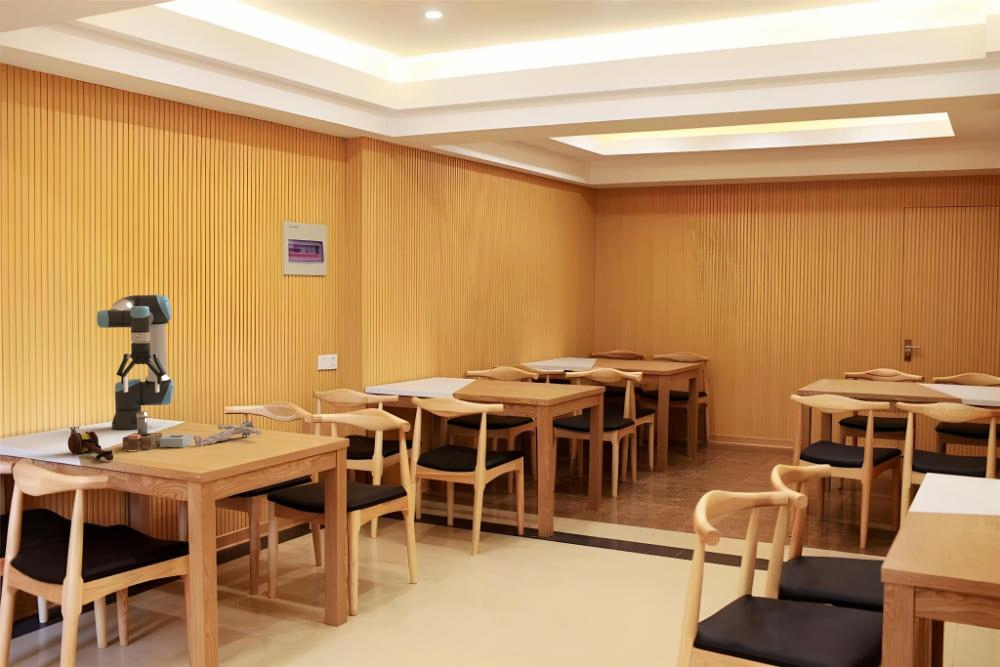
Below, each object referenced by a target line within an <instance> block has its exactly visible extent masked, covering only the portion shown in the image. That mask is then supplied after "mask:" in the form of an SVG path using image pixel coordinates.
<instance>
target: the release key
mask: <svg viewBox="0 0 1000 667" xmlns="http://www.w3.org/2000/svg"><path fill="white" fill-rule="evenodd" d="M131 434H132V435H131ZM131 434H129V435H130V436H129V439H133V442H137V439H140V438H141V434H133V433H131Z"/></svg>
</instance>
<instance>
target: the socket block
mask: <svg viewBox="0 0 1000 667" xmlns="http://www.w3.org/2000/svg"><path fill="white" fill-rule="evenodd" d="M132 434H137V432H134V433H131V434H129V435H125V436H123V437H122V450H123V449H128V450H140V449H152V448H154V447H156V446H158V447H160V446H159V445H160V441H159V439H160V438H162V437H163V433H162V432H148V436H147V437H141V438H140V439H137V442H133V439H129V436H130V435H132ZM156 448H157V447H156ZM154 449H155V448H154ZM152 450H153V449H152ZM140 451H141V450H140Z"/></svg>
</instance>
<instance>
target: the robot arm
mask: <svg viewBox="0 0 1000 667" xmlns="http://www.w3.org/2000/svg"><path fill="white" fill-rule="evenodd" d="M172 317H173V316H172V307H171V302H170V299H169V297H168V296H167V295H161V294H140V295H138V294H134V295H128V296H125V297H122V298H120V299H118V300H116V301H115V302H113V304H112V307H111V308H108V309H103V310H98V311H97V313H96V322H97V323H96V324H97V327H99V328H103V329H105V328H106V329H108V328H112V329H113V328H114V329H115V328H130V342H132V343H131V344H130V350H131V354H129V353H124V354H123V358H122V361H121V363H120V365H119V368H118V370H117V371H116V376H119V377H120V379H121V380H120V381H118V382H116V383H115V385H114V400H115V401H114V402H115V403H114V404H115V406H114V407H115V408H114V409H115V413H114V416H113V419H112V422H111V429H112V430H117V431H123V430H124V431H126V430H127V431H128V430H137V412H143V411H142V406H163V405H166V406H167V405H170V404H171V403H172V402H173V397H174V389H175V387H174V386H175V381H174V380H171V375H169V374H168V368H167V367H168V363H167V337H166V336H167V335H166V326H167V325H169V320H172ZM130 359H131V362H129V364H128V361H129V360H130ZM127 364H128V366H127ZM135 365H146V366H147V375H146V376H145V378H144V381H142V380H141V378H132V379H129V377H128V376H127V375H128V374H129V373H130V371H131V370H132V369H133V367H135ZM126 366H127V367H126Z"/></svg>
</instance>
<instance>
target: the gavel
mask: <svg viewBox="0 0 1000 667" xmlns="http://www.w3.org/2000/svg"><path fill="white" fill-rule="evenodd" d="M69 429H70V430H71V431H70V436H69V437H68V439H67V448H68V450H69V452H70V453H71V454H72V453H73V454H72V455H77V453H78V454H79V453H81V454H82V453H88V452H87V451H89V452H90V453H94V454H97V455H96V458H95V459H96V460H100V459H102V458H104V459H105V460H106V461H108V462H112V461H113V460H114V455H113V451H112V450H103V449H102V446H101V445H100V444H99V437H98V435H97V434H96V432H95V431H86V432H84V433H80V432H77V430H79V429H80V427H79V426H70V427H69Z"/></svg>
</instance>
